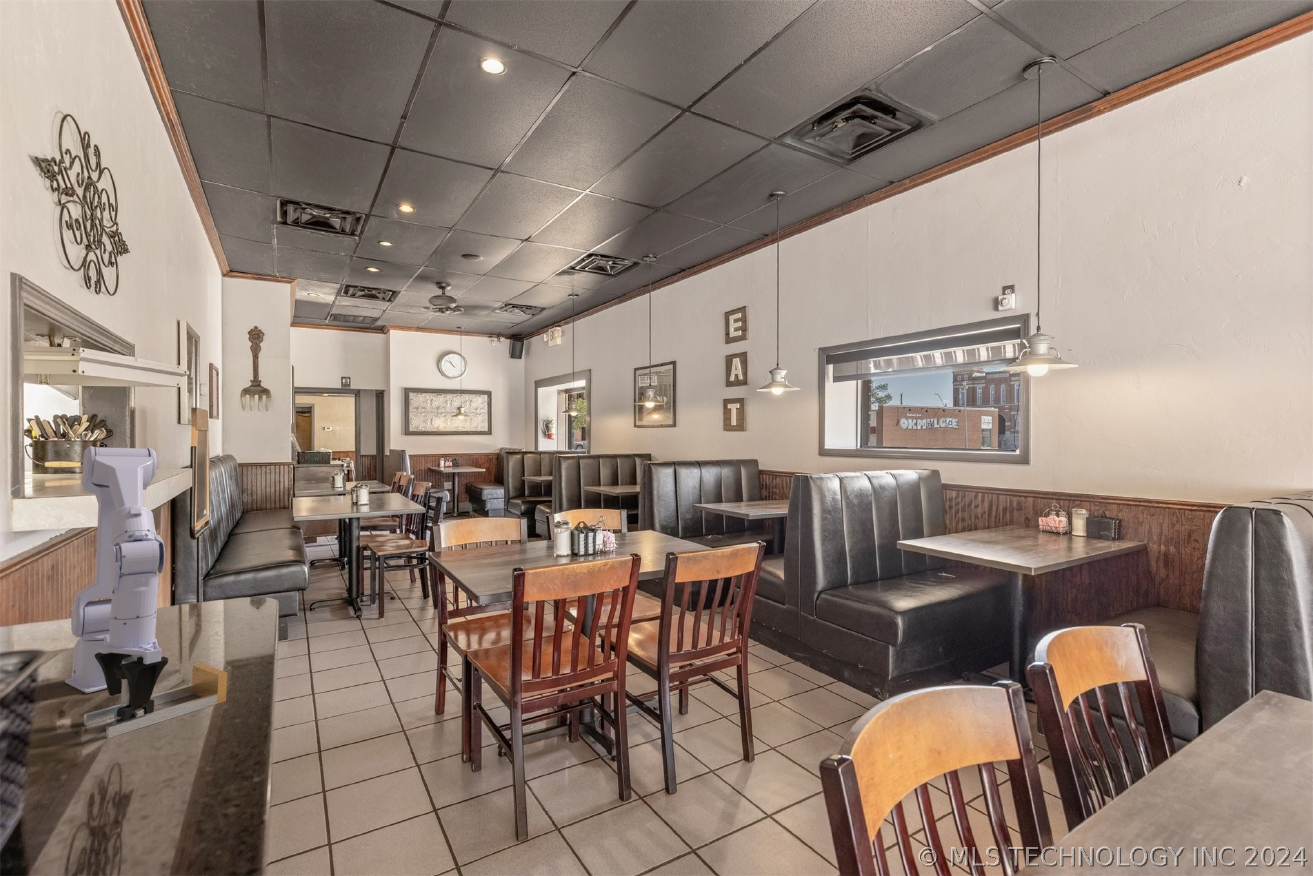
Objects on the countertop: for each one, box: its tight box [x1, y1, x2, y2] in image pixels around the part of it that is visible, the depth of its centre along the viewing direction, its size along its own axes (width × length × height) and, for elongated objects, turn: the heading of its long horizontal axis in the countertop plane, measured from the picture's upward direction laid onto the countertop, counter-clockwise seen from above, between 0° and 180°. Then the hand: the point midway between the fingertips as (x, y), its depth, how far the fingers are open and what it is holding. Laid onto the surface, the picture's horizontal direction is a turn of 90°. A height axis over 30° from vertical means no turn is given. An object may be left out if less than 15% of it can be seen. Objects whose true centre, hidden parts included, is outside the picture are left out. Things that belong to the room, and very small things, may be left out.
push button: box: [105, 656, 155, 729], centre depth 98 cm, size 7×5×10 cm
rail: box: [83, 662, 228, 739], centre depth 102 cm, size 9×16×5 cm, turn 152°
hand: (128, 699), depth 98 cm, fingers open, 7 cm apart
